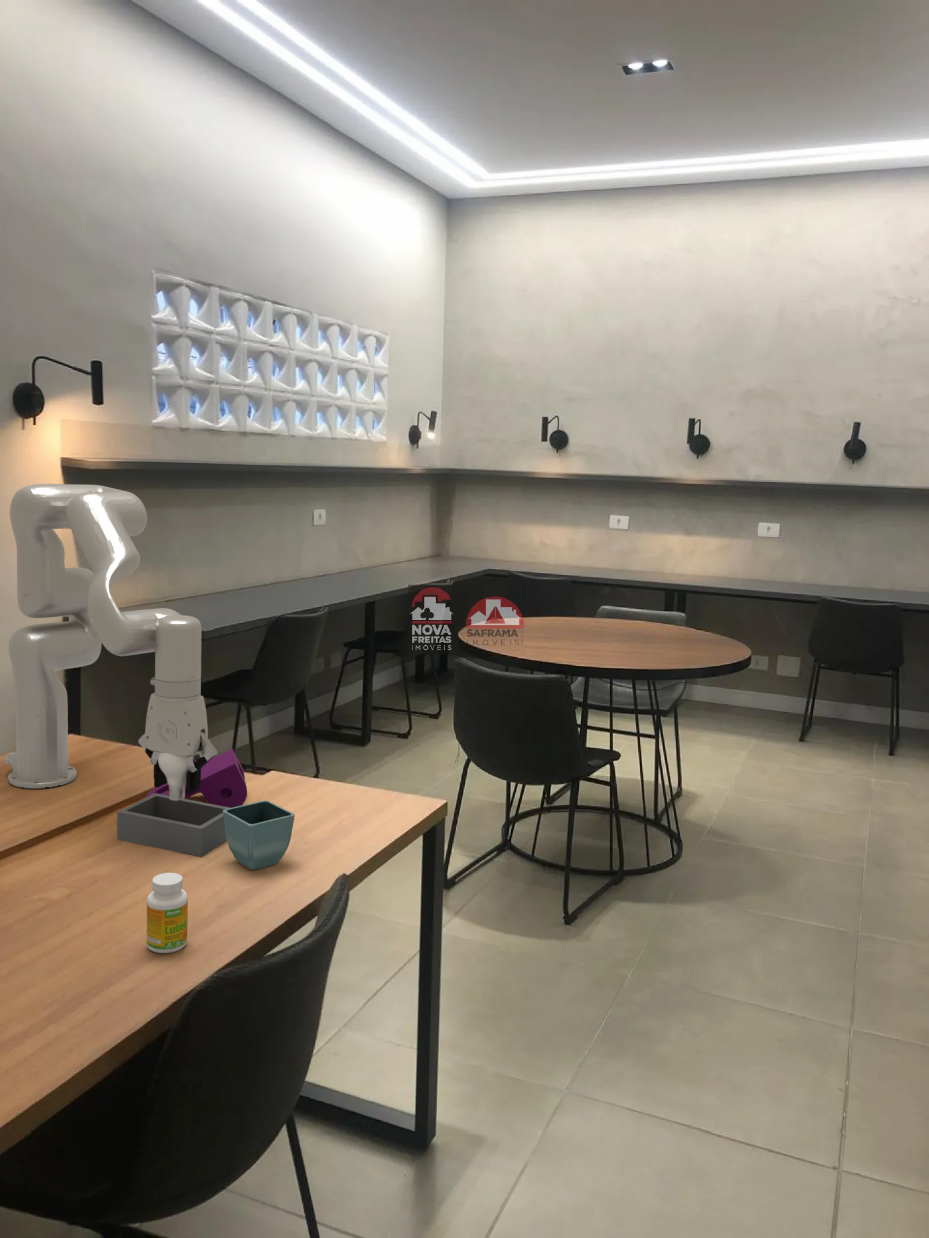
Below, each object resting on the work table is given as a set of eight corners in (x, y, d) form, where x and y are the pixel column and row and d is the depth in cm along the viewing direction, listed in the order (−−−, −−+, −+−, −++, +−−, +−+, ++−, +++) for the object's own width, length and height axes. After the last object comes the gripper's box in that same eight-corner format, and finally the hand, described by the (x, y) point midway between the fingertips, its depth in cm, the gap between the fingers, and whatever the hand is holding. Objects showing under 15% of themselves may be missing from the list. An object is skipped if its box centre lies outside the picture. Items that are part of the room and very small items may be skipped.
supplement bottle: (165, 958, 131) (165, 890, 130) (138, 946, 134) (138, 879, 132) (195, 942, 136) (196, 877, 134) (168, 931, 138) (169, 866, 137)
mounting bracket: (165, 844, 183) (254, 801, 186) (144, 807, 180) (235, 763, 183) (166, 825, 191) (250, 784, 195) (146, 789, 189) (232, 748, 192)
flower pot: (265, 848, 169) (266, 798, 168) (294, 865, 163) (296, 813, 161) (220, 860, 163) (221, 809, 161) (249, 878, 157) (250, 825, 155)
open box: (117, 839, 169) (117, 811, 168) (154, 819, 179) (155, 793, 178) (201, 857, 164) (201, 828, 163) (235, 835, 174) (235, 808, 173)
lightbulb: (202, 802, 170) (203, 741, 169) (170, 810, 166) (170, 748, 164) (183, 792, 175) (183, 733, 173) (151, 800, 170) (150, 739, 168)
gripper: (121, 685, 166) (121, 786, 169) (208, 699, 161) (207, 803, 164) (149, 677, 173) (149, 774, 176) (233, 689, 168) (231, 789, 171)
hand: (177, 787), depth 170 cm, fingers closed on lightbulb, 5 cm apart
